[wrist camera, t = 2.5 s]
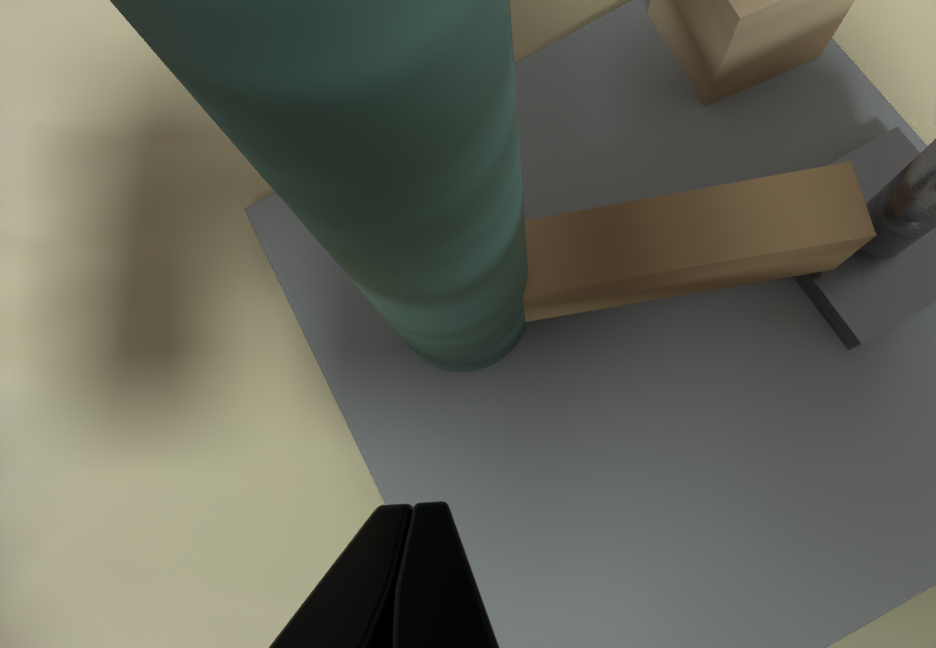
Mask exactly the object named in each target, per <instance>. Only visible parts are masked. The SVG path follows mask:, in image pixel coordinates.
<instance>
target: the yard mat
mask: <svg viewBox="0 0 936 648" xmlns="http://www.w3.org/2000/svg"><path fill="white" fill-rule="evenodd" d="M649 3H650V0H631V1H629V2H627V3H625V4H623V5H621V6H620V7H618V8H616V9H614V10H612V11H610V12H608V13H607V14H605V15H603V16H601V17H599V18H597V19H596V20H594V21H592V22H590V23H588V24H586V25H584V26H583V27H581V28H579V29H577V30H575V31H573V32H571V33H570V34H568V35H566V36H564V37H562V38H560V39H559V40H557V41H555V42H553V43H551V44H549V45H547V46H546V47H544V48H542V49H540V50H538V51H536V52H534V53H533V54H531V55H529V56H527V57H525V58H523V59H522V60H520V61H518V62H516V63H514V75H515V89H516V104H517V118H518V133H519V147H520V162H521V176H522V191H523V205H524V220H530V219H536V218H541V217H547V216H552V215H558V214H563V213H569V212H574V211H580V210H585V209H591V208H596V207H602V206H607V205H613V204H618V203H624V202H629V201H635V200H640V199H646V198H651V197H657V196H663V195H668V194H674V193H679V192H685V191H690V190H696V189H701V188H707V187H712V186H718V185H723V184H729V183H734V182H740V181H745V180H751V179H756V178H762V177H767V176H773V175H778V174H784V173H789V172H795V171H800V170H806V169H811V168H817V167H823V166H827V165H828V164H830V163H832V162H834V161H836V160H837V159H839V158H841V157H843V156H845V155H846V154H848V153H850V152H852V151H854V150H855V149H857V148H859V147H861V146H863V145H864V144H866V143H868V142H870V141H872V140H873V139H875V138H877V137H879V136H881V135H882V134H884V133H886V132H888V131H890V130H891V129H893V128H895V127H898V128H899V129H900V130H901V131H902V133H903V134H904V135H905V136H906V137H907V138H908V139H909V141H910V142H911V143H912V144H913V145H914V146H915V147H916V149H917V150H918V151H919V152H920V153H921V152H922V151H923V150H924V149H925V148H926V147H927V145H926V144H925V143H924V142H923V141H922V140H921V138H920V137H919V136H918V135H917V134H916V133H915V132H914V131H913V129H912V128H911V127H910V126H909V125H908V124H907V123H906V121H905V120H904V119H903V118H902V117H901V116H900V115H899V113H898V112H897V111H896V110H895V109H894V108H893V107H892V106H891V104H890V103H889V102H888V101H887V100H886V99H885V98H884V96H883V95H882V94H881V93H880V92H879V91H878V90H877V88H876V87H875V86H874V85H873V84H872V83H871V82H870V81H869V79H868V78H867V77H866V76H865V75H864V74H863V73H862V71H861V70H860V69H859V68H858V67H857V66H856V65H855V63H854V62H853V61H852V60H851V59H850V58H849V57H848V56H847V54H846V53H845V52H844V51H843V50H842V49H841V48H840V46H839V45H838V44H837V43H836V42H835V41H834V40H833V38H831V39H830V41H829V43H828V44H827V46H826V47H825V49H824V51H823V52H822V54H821V55H820V57H819V58H817V59H815V60H812V61H810V62H808V63H805V64H803V65H801V66H798V67H796V68H794V69H791V70H789V71H787V72H784V73H782V74H780V75H777V76H775V77H773V78H770V79H768V80H765V81H763V82H761V83H758V84H756V85H754V86H751V87H749V88H747V89H744V90H742V91H740V92H737V93H735V94H733V95H730V96H728V97H726V98H723V99H721V100H719V101H716V102H714V103H712V104H709V105H707V106H705V107H704V105H703V104H702V102H701V101H700V99H699V97H698V96H697V94H696V92H695V91H694V89H693V87H692V86H691V84H690V82H689V81H688V79H687V78H686V76H685V74H684V73H683V71H682V69H681V68H680V66H679V64H678V63H677V61H676V59H675V58H674V56H673V55H672V53H671V51H670V50H669V48H668V46H667V45H666V43H665V41H664V40H663V38H662V36H661V35H660V33H659V31H658V30H657V28H656V27H655V25H654V23H653V22H652V20H651V18H650V17H649V15H648V13H647V12H648V8H649ZM245 211H246V214H247V216H248V218H249V220H250V222H251V224H252V226H253V228H254V230H255V232H256V234H257V237H258V239H259V241H260V243H261V245H262V247H263V249H264V251H265V253H266V255H267V258H268V260H269V262H270V264H271V266H272V268H273V270H274V272H275V274H276V276H277V278H278V281H279V283H280V285H281V287H282V289H283V291H284V293H285V295H286V297H287V299H288V301H289V304H290V306H291V308H292V310H293V312H294V314H295V316H296V318H297V320H298V322H299V324H300V327H301V329H302V331H303V333H304V335H305V337H306V339H307V341H308V343H309V345H310V347H311V350H312V352H313V354H314V356H315V358H316V360H317V362H318V364H319V366H320V368H321V370H322V373H323V375H324V377H325V379H326V381H327V383H328V385H329V387H330V389H331V391H332V393H333V396H334V398H335V400H336V402H337V404H338V406H339V408H340V410H341V412H342V414H343V416H344V419H345V421H346V423H347V425H348V427H349V429H350V431H351V433H352V435H353V437H354V439H355V442H356V444H357V446H358V448H359V450H360V452H361V454H362V456H363V458H364V460H365V462H366V465H367V467H368V469H369V471H370V473H371V475H372V477H373V479H374V481H375V483H376V485H377V488H378V490H379V492H380V494H381V496H382V498H383V500H384V502H385V504H386V505H391V504H410V505H412V506H413V507H414V505H415V504H417V503H422V502H438V501H444V502H446V503H447V504H448V505H449V508H450V510H451V513H452V516H453V519H454V521H455V524H456V527H457V530H458V533H459V535H460V538H461V541H462V544H463V547H464V549H465V552H466V555H467V558H468V561H469V563H470V566H471V569H472V572H473V575H474V577H475V580H476V583H477V586H478V589H479V591H480V594H481V597H482V600H483V603H484V606H485V608H486V611H487V614H488V617H489V620H490V622H491V625H492V628H493V631H494V634H495V636H496V639H497V642H498V645H499V648H826V647H828V646H830V645H831V644H833V643H835V642H837V641H838V640H840V639H842V638H843V637H845V636H847V635H849V634H850V633H852V632H854V631H855V630H857V629H859V628H861V627H862V626H864V625H866V624H868V623H869V622H871V621H873V620H874V619H876V618H878V617H880V616H881V615H883V614H885V613H886V612H888V611H890V610H892V609H893V608H895V607H897V606H899V605H900V604H902V603H904V602H905V601H907V600H909V599H911V598H912V597H914V596H916V595H917V594H919V593H921V592H923V591H924V590H926V589H928V588H930V587H931V586H933V585H935V584H936V302H935V303H933V304H931V305H929V306H928V307H926V308H924V309H922V310H920V311H919V312H917V313H915V314H913V315H912V316H910V317H908V318H906V319H905V320H903V321H901V322H899V323H897V324H896V325H894V326H892V327H890V328H889V329H887V330H885V331H883V332H882V333H880V334H878V335H876V336H874V337H873V338H871V339H869V340H867V341H866V342H864V343H862V344H860V345H858V346H856V347H854V348H852V349H850V350H848V349H847V348H846V346H845V345H844V344H843V342H842V341H841V340H840V338H839V337H838V336H837V334H836V333H835V332H834V330H833V329H832V328H831V326H830V325H829V324H828V322H827V321H826V320H825V318H824V317H823V316H822V314H821V313H820V312H819V310H818V309H817V308H816V306H815V305H814V304H813V302H812V301H811V300H810V298H809V297H808V296H807V294H806V293H805V292H804V290H803V289H802V288H801V286H800V285H799V284H798V282H797V281H796V280H795V278H794V277H787V278H781V279H775V280H769V281H763V282H758V283H752V284H746V285H740V286H734V287H728V288H722V289H717V290H711V291H705V292H699V293H693V294H687V295H681V296H676V297H670V298H664V299H658V300H652V301H646V302H640V303H634V304H629V305H623V306H617V307H611V308H605V309H599V310H593V311H588V312H582V313H576V314H570V315H564V316H558V317H552V318H547V319H541V320H535V321H529V322H528V323H527V327H526V329H525V331H524V334H523V336H522V337H521V339H520V341H519V342H518V344H517V345H516V346H515V347H514V348H513V350H512V351H511V352H510V353H508V354H507V355H506V356H505V357H504V358H502V359H501V360H499V361H498V362H496V363H494V364H492V365H491V366H488V367H485V368H483V369H479V370H475V371H468V372H454V371H448V370H444V369H440V368H437V367H435V366H433V365H431V364H429V363H427V362H426V361H424V360H422V359H421V358H420V357H419V356H418V355H416V354H415V353H414V351H413V350H412V349H411V348H410V347H409V346H408V345H407V344H406V342H405V341H404V340H403V339H402V338H401V337H400V335H399V334H398V333H397V332H396V331H395V330H394V329H393V327H392V326H391V325H390V324H389V323H388V322H387V320H386V319H385V318H384V317H383V316H382V315H381V313H380V312H379V311H378V310H377V309H376V308H375V307H374V305H373V304H372V303H371V302H370V301H369V300H368V298H367V297H366V296H365V295H364V294H363V293H362V292H361V290H360V289H359V288H358V287H357V286H356V285H355V283H354V282H353V281H352V280H351V279H350V278H349V276H348V275H347V274H346V273H345V272H344V271H343V270H342V268H341V267H340V266H339V265H338V264H337V263H336V261H335V260H334V259H333V258H332V257H331V256H330V254H329V253H328V252H327V251H326V250H325V249H324V248H323V246H322V245H321V244H320V243H319V242H318V241H317V239H316V238H315V237H314V236H313V235H312V234H311V233H310V231H309V230H308V229H307V228H306V227H305V226H304V224H303V223H302V222H301V221H300V220H299V219H298V217H297V216H296V215H295V214H294V213H293V212H292V211H291V209H290V208H289V207H288V206H287V205H286V204H285V202H284V201H283V200H282V199H281V198H280V197H279V196H278V194H277V193H276V192H275V193H274V194H272V195H270V196H268V197H266V198H264V199H262V200H261V201H259V202H257V203H255V204H253V205H251V206H250V207H248V208H246V209H245Z"/></svg>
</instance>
